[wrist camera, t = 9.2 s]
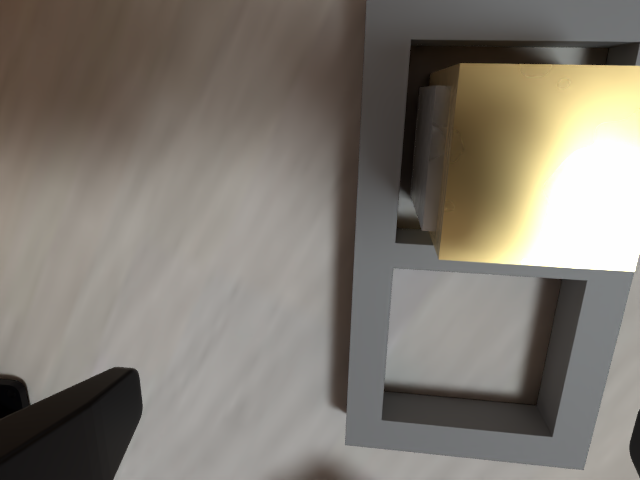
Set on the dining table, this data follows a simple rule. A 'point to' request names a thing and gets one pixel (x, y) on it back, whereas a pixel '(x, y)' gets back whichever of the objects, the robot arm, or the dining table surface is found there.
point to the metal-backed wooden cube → (530, 164)
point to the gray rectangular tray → (419, 254)
